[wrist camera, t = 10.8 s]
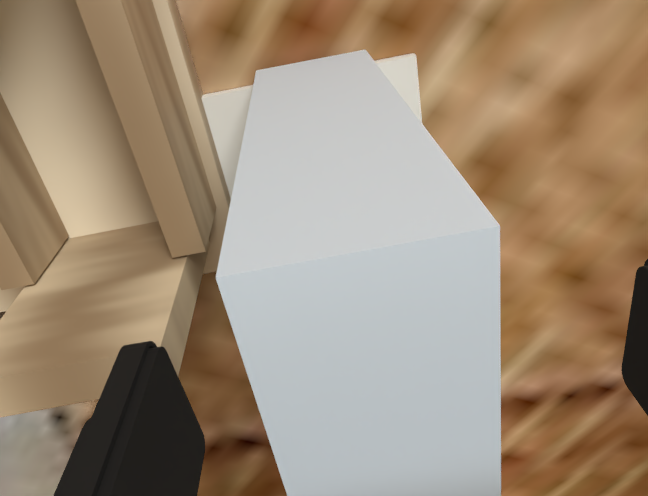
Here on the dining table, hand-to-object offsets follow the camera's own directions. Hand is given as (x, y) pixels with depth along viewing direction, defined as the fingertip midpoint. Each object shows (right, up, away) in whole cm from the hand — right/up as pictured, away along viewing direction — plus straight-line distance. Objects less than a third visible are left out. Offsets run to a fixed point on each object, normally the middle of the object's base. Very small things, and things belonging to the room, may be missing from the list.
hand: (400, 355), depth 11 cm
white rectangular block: (-1, +4, +8) cm, 9 cm away
